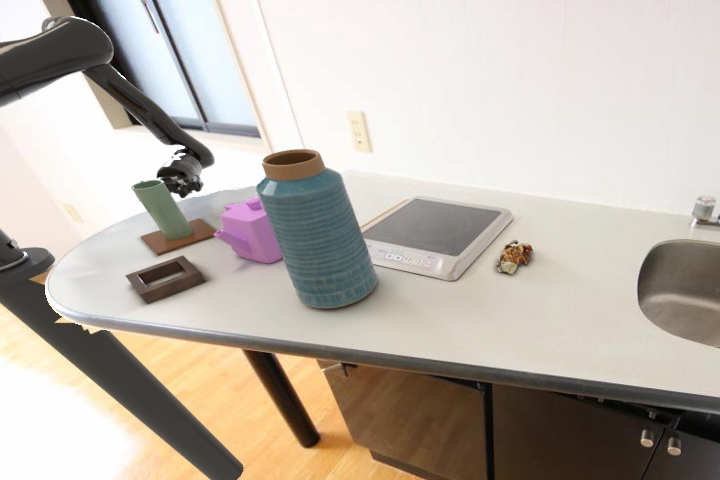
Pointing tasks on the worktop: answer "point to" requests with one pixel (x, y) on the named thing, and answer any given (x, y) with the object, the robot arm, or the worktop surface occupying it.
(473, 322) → the worktop surface
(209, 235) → the mat
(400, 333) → the worktop surface
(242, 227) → the teakettle
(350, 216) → the vase
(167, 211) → the cup
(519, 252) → the pastry
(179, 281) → the rectangular frame
